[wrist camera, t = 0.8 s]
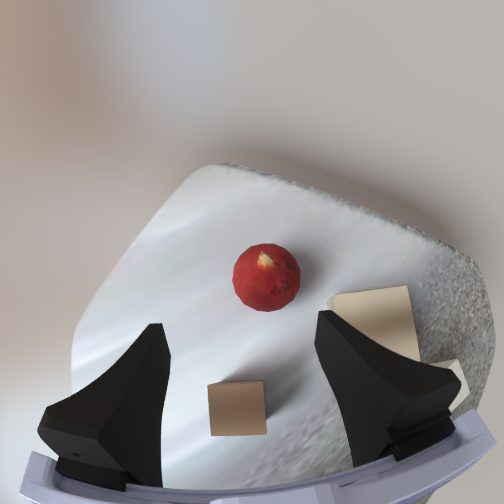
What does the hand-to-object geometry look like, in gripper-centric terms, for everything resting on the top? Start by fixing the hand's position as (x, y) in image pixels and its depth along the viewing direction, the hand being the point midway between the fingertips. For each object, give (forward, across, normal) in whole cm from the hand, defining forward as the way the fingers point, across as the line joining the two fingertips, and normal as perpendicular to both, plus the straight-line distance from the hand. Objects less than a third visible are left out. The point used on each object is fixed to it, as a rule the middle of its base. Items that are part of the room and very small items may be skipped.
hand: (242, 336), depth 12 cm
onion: (+14, -3, +6) cm, 15 cm away
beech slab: (+9, -13, +10) cm, 18 cm away
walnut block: (+6, 0, +13) cm, 14 cm away
